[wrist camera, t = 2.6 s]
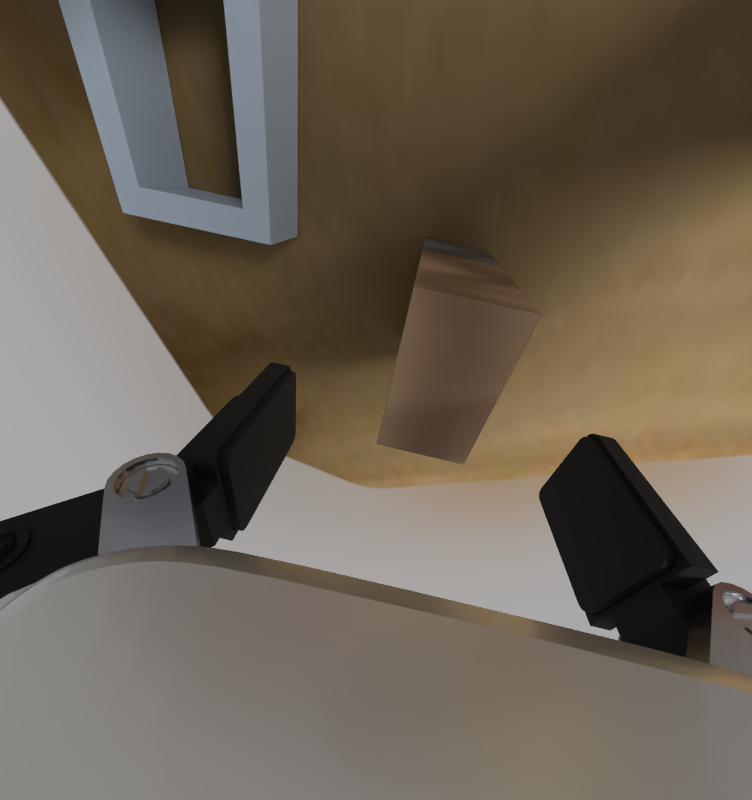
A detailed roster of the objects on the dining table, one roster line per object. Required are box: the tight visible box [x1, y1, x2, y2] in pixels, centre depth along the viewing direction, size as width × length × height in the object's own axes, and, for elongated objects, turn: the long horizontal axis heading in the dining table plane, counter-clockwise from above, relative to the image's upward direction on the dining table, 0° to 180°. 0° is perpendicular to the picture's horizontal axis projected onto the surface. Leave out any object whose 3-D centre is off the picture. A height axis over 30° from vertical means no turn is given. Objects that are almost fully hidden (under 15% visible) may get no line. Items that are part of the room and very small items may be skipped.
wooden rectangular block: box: [377, 238, 542, 465], centre depth 16 cm, size 4×7×12 cm, turn 170°
